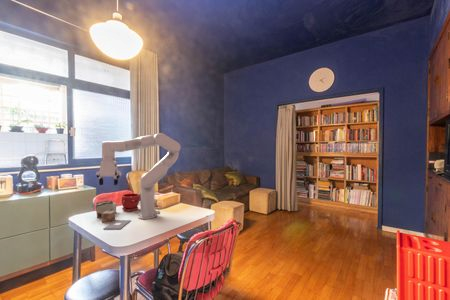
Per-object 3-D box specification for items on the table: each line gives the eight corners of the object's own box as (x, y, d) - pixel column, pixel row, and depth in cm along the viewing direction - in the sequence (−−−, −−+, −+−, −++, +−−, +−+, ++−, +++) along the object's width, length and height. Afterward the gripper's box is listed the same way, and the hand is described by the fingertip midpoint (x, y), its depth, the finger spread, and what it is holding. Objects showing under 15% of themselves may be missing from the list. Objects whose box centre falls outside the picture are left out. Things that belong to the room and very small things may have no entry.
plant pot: (124, 213, 162) (124, 197, 162) (119, 209, 171) (119, 194, 171) (142, 210, 171) (142, 195, 170) (136, 206, 180) (136, 192, 180)
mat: (130, 221, 145) (130, 220, 145) (120, 229, 130) (120, 228, 130) (115, 221, 144) (115, 220, 144) (103, 229, 129) (103, 228, 129)
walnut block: (115, 219, 148) (115, 210, 148) (110, 222, 142) (110, 213, 142) (106, 219, 148) (106, 210, 148) (101, 222, 142) (101, 213, 142)
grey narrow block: (117, 211, 166) (117, 202, 166) (113, 214, 160) (113, 204, 160) (109, 211, 166) (109, 202, 166) (105, 214, 160) (105, 204, 160)
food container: (109, 212, 163) (109, 199, 162) (113, 214, 159) (113, 200, 159) (91, 217, 152) (91, 203, 152) (95, 218, 149) (95, 204, 149)
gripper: (123, 159, 149) (124, 183, 149) (98, 159, 149) (98, 184, 149) (118, 159, 141) (118, 185, 141) (92, 159, 141) (92, 185, 141)
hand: (108, 184), depth 145 cm, fingers open, 9 cm apart
